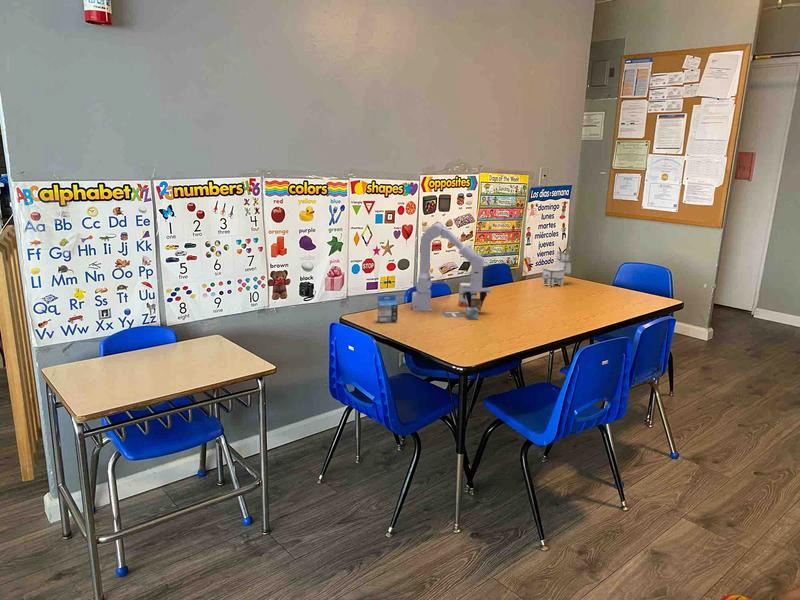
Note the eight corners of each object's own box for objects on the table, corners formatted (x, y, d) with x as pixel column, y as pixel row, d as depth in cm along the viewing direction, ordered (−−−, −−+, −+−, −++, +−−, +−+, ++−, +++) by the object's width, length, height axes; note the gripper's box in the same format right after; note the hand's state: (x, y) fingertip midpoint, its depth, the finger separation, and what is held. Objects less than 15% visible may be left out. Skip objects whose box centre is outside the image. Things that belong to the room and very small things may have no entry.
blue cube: (467, 320, 284) (468, 310, 283) (465, 317, 289) (465, 307, 288) (477, 320, 284) (478, 310, 283) (475, 317, 289) (476, 307, 288)
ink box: (460, 307, 307) (461, 284, 304) (458, 304, 312) (459, 282, 309) (476, 307, 308) (477, 284, 305) (474, 304, 313) (475, 282, 310)
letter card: (445, 317, 287) (445, 317, 287) (441, 312, 297) (441, 311, 297) (465, 317, 288) (465, 317, 288) (461, 311, 298) (461, 311, 298)
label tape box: (379, 323, 275) (379, 297, 272) (377, 320, 279) (377, 295, 276) (397, 322, 278) (398, 296, 275) (395, 319, 282) (395, 294, 279)
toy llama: (538, 285, 362) (541, 252, 357) (560, 282, 370) (563, 251, 365) (547, 287, 356) (549, 254, 351) (569, 285, 364) (572, 253, 359)
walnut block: (471, 310, 292) (471, 301, 291) (468, 308, 297) (469, 298, 296) (481, 310, 293) (481, 300, 292) (478, 308, 298) (479, 298, 296)
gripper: (463, 281, 287) (462, 308, 290) (493, 281, 288) (491, 308, 292) (460, 278, 294) (459, 305, 297) (489, 278, 295) (487, 305, 298)
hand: (474, 306), depth 295 cm, fingers closed on walnut block, 5 cm apart
